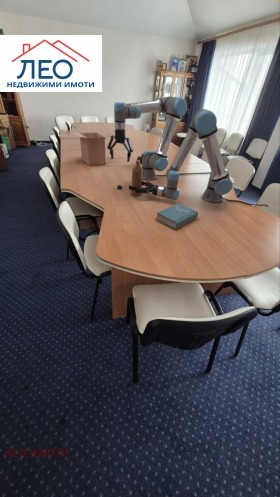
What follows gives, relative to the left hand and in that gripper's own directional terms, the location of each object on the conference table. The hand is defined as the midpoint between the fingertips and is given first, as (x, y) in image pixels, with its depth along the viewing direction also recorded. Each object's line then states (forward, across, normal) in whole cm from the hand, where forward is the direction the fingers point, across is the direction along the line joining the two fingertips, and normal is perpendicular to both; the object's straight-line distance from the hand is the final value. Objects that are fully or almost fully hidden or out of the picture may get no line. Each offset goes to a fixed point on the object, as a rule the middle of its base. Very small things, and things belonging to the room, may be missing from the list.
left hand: (120, 160), depth 167 cm
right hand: (+15, +12, -4) cm, 20 cm away
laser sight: (+23, -7, +80) cm, 84 cm away
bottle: (+22, +16, -4) cm, 27 cm away
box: (+22, -59, +54) cm, 83 cm away
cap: (+20, 0, -1) cm, 20 cm away
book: (+22, +55, -29) cm, 66 cm away
